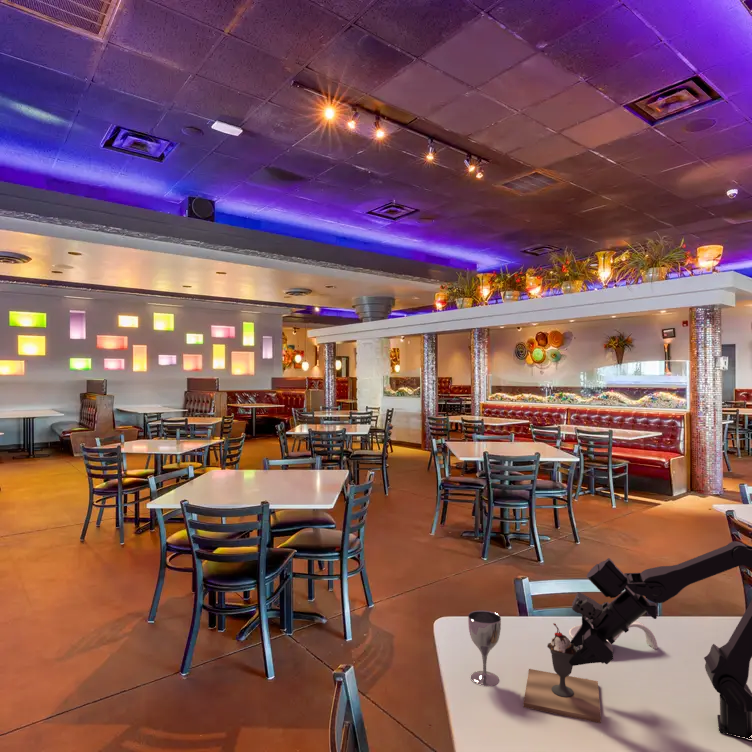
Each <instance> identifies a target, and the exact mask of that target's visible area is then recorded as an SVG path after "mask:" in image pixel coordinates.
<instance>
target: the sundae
mask: <svg viewBox="0 0 752 752" xmlns="http://www.w3.org/2000/svg"><path fill="white" fill-rule="evenodd" d="M552 624H553V626H556V630H557V631H556V632H555V633H554V637H553V638H551V641H550V642H548V643H547V646H546V647H547V648H548V649H549V651H550V654H551V659H552V660H551V661H552V666H553V671H554V672H555V674H558V675H559V676H560V684H559V685H554V686H553V687H552V688H551V690H552V692H553V693H554V694H556V695H558V696H561V697H571V696H573V695H574V692H573V690H572V689H571V688H569V687H567V686H566V685H565V677H567V676H571V674H572V671H573V667H574V666H572V665H571V664H570V663H569V660H570V659H571V658H572V656H573V655H574V654H575V653H576V652H577V651H578V649H579V648H578V647H575V646H574V643H573V644H571V643H570V642H571V640H570V639H569V637H567V636H566V635H564V634H563V633H562V632H560V629H559V627H558V626H557V624H556V623H555V622H554V623H552Z"/></svg>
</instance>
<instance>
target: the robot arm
mask: <svg viewBox="0 0 752 752" xmlns="http://www.w3.org/2000/svg"><path fill="white" fill-rule="evenodd" d="M740 566H745V567H748V568H750V569H752V546H751V545H748V544H744V543H743V542H740V541H736V540H735V541H731V542H729V543H728V544H726V545H724V546H721V547H719V548H716V549H713V550H712V551H709V552H706V553H702V554H701V555H697V556H696V557H694V558H691V559H688V560H686V561H683V562H680V563H678V564H675V565H674V564H673V565H663V566H661V565H660V566H657V567H651V568H646V569H644V570H643V571H641V572H625V573H624V572H622V571H621V569H620V568H619V567H618V566H616V564H615V562H614V561H613V560H612V559H611V558H609V557H607V558H606V559H605V560H603V561H600V562H599V563H596V564H595V565H594V566H593V567H591V569H590V570H589V571H588V572H587V574H586V579H587V580H589V581H590V582H591V583H592V584H593V586H595V588H597V590H599V592H600V593H601V594H602V595H604V596H605V598H608V597H609V598H610V599H612V601H610V602H609V601H604V602H603V603H602V604H601V603H599V602H597V601H596V600H595V599H592V598H591V597H589V596H587V595H585V594H583V593H582V592H578V591H577V593H576V594H575V597H574V599H573V601H572V603H571V609H572V611H574V612H575V613H577V614H580V615H581V624H580V625H581V626H580V628H579V630H578V631H577V633H576V634H575V636H574V637H573V639H572V638H571V640H570V643H571V644H573V643H574V646H575V647H577V649H578V651H577V652H576V653H575V654H574V655H573V656H572V658H571V659H570V660H569V663H570V664H571V665H572V666H573V667H575V666H581V665H588V664H599V663H601V664H605V665H608V664H609V663H611V662H612V661H613V660H614V651H613V650H614V648H613V646H612V645H613V644H614V643H615V642H616V640H615V639H614V638H615V637H616V636H617V635H619V634H620V633H621V632H622V631H624V632H623V633H625V634H626V633H628V632H629V631H630V628H628V626H630V625H631V624H632V623H633V622H635V621H638V619H640V618H641V617H642V616H643V615H645V614H646V613H648V615H649V616H650V617H651V618H652V619H653V620H657V618H658V617H657V609H658V607H657V604H664V603H665V602H667V601H669V600H671V599H672V598H674V597H675V596H677V595H678V594H679V593H680V592H682V590H684V589H685V588H687V587H688V586H689V585H692V584H695V583H698V582H700V581H703V580H706V579H708V578H711V577H713V576H716V575H719V574H721V573H725V572H727V571H729V570H732V569H735V568H737V567H740ZM607 640H608V641H609V642H610V643H611V644H612V645H611V644H610V643H609V642H608V641H607ZM581 645H582V646H581ZM580 646H581V647H580ZM578 647H579V648H578ZM703 659H704V661H705V664H704V669H705V672H706V674H707V676H708V678H709V681H710V683H711V684H712V687H713V688H714V689H715V691H716V692H717V693H718V694H719V714H717V715H716V716H717V726H718V727H719V728H718V727H717V728H718V732H719V731H720V732H719V733H721V732H724V733H728V734H732V735H736V736H740V737H745V738H748V739H752V738H751V737H750V736H751V735H752V691H751V689H750V687H749V685H748V684H747V683H748V680H749V675H750V672H749V671H750V665H751V664H750V663H751V660H752V600H751V601H750V603H749V604H748V607H747V608H746V610H745V611H744V614H742V617H741V618H740V620H739V621H738V624H737V625H736V627H735V629H734V631H733V632H732V633H731V636H730V637H729V639H728V641H727V643H725V644H723V645H722V646H720V647H719V646H717V645H716V644H715V643H713V644H711V647H710V650H709V653H708V654H707V655H706V656H704V657H703ZM724 733H723V734H724ZM728 734H727V735H728ZM749 737H750V738H749Z"/></svg>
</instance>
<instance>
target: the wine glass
mask: <svg viewBox="0 0 752 752" xmlns="http://www.w3.org/2000/svg"><path fill="white" fill-rule="evenodd" d="M467 616H468V617H467V619H468V620H467V622H468V630H469V631H468V632H469V637H470V639H471V641H472V643H473V644H474V645H475V646H476V647H477V650H479V652H480V654H481V659H482V670H477V672H476V671H474V672H472V673H473V674H472V673H471V674H472V675H471V674H470V675H471V679H472V680H473V681H474V682H476V683H478V684H481V685H484V686H483V687H493V686H497V685H498V684H499V683H500V678H499V676H498V675H497V674H495V673H493V672H491V671H487V663H488V662H487V661H488V655H489V653H490V652H491V650H492V649H493V648H494V647H495V646H496V645H497V644H498V642H499V639H500V636H501V629H502V618H501V616H500V615H499V614H498V613H496V612H493V611H490V610H482V609H481V610H479V609H478V610H472V611H470V612H469V613H468V615H467ZM471 679H470V680H471ZM472 680H471V681H472ZM473 681H472V682H473ZM474 682H473V683H474ZM476 683H475V684H476ZM478 684H477V685H478ZM481 685H480V686H481Z"/></svg>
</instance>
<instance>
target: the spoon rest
mask: <svg viewBox="0 0 752 752" xmlns="http://www.w3.org/2000/svg"><path fill="white" fill-rule="evenodd" d="M581 625H582V624H580V625H575V626H573V627H572V628H570V629H569V632H568V634H569V637H570V639H571V640H572V639H573V637H574V636H575V634H576V633H577V631H578V630H579V628H580V626H581ZM628 628H629V629H631V628H639V629H641V630H642V631H643V632H644V634H645V642H646V644H647V645H648V644H649V645H648V646H649V647H651V648H652V649H654V650H657V649H658V642H657V639H656V637H655V635H654V633H653V631H651V629H649V628H648V627H647V626H646V625H645V624H643V623H642V622H641V621H639V620H636V621H635V622H633V623H632V624H631V625H630V626H628ZM622 633H625V632H624V631H622V632H621V633H620V634H619V635H617V636H616V637H615V638H614V639H615V641H617V640H618V638H619V637H621V635H622ZM607 641H608V640H607ZM608 642H609V641H608ZM609 643H610V642H609ZM610 644H611V643H610ZM612 645H613V644H611V646H612ZM581 646H582V645H581ZM581 646H579V648H580V647H581Z"/></svg>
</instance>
